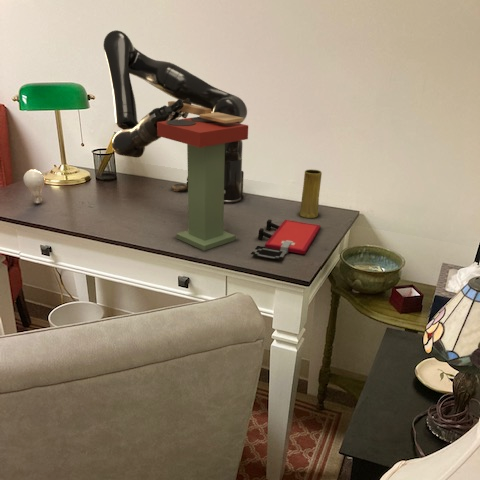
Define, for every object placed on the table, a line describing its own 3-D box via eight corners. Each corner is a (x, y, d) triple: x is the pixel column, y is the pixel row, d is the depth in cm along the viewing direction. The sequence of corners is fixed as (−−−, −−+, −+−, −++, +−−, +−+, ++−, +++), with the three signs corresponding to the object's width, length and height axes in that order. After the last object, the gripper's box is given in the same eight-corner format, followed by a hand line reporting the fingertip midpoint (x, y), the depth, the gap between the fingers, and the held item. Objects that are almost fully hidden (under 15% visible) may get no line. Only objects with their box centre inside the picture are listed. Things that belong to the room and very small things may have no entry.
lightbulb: (41, 207, 169) (36, 173, 163) (23, 205, 170) (17, 171, 164) (51, 201, 174) (46, 168, 169) (34, 199, 175) (28, 166, 170)
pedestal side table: (161, 233, 153) (156, 121, 137) (205, 221, 163) (205, 115, 148) (201, 251, 142) (201, 132, 126) (245, 236, 153) (249, 124, 137)
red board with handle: (243, 256, 140) (298, 266, 136) (244, 246, 138) (299, 256, 135) (273, 222, 165) (319, 229, 161) (273, 213, 163) (321, 221, 160)
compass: (174, 186, 194) (173, 166, 190) (194, 188, 193) (194, 168, 189) (167, 192, 187) (166, 172, 184) (188, 194, 186) (188, 174, 182)
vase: (320, 214, 173) (325, 170, 166) (314, 219, 168) (319, 175, 161) (302, 211, 175) (307, 168, 168) (296, 216, 170) (300, 172, 163)
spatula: (162, 108, 148) (161, 102, 147) (179, 106, 152) (179, 100, 151) (225, 123, 133) (225, 116, 132) (243, 121, 137) (243, 113, 136)
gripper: (130, 115, 154) (161, 90, 140) (168, 111, 162) (200, 87, 149) (139, 141, 155) (170, 117, 141) (176, 135, 163) (208, 113, 150)
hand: (185, 102), depth 145 cm, fingers closed on spatula, 2 cm apart
